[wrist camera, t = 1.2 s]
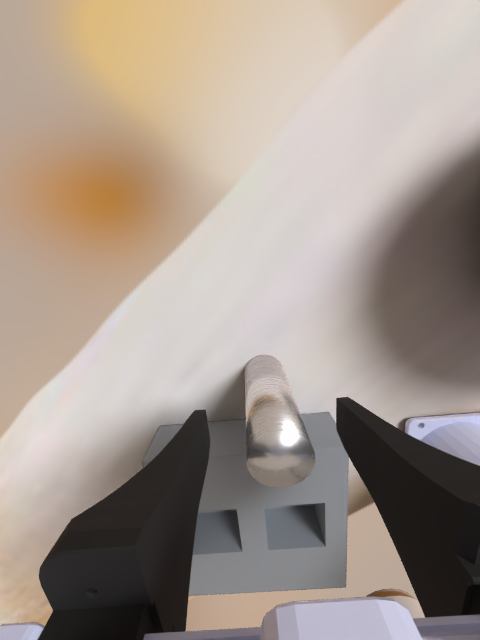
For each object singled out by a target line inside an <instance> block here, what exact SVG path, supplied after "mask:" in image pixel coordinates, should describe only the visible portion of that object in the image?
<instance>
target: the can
mask: <svg viewBox="0 0 480 640" xmlns="http://www.w3.org/2000/svg"><path fill="white" fill-rule="evenodd" d="M373 596H375V597H384V598H391V599H393V600H394V601H396V602H398V603H399V604H401V605H402V606H404V607H405V608H407V609H408V610H409V613H410V615H411V617H412V618H425V616H424V614H423V611H422V609H421V606H420V604H419V601H418V600H417V599H415V598H413V597H412V596H410V595H409V594H408V593H407V592H404V591H402V590H397V589H383V590H379V591H375V592H373V593H371V594H369V595H367V596H366V597H373Z"/></svg>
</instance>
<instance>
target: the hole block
mask: <svg viewBox="0 0 480 640" xmlns="http://www.w3.org/2000/svg"><path fill="white" fill-rule="evenodd" d="M300 415H301V417H302V420H303V423H304V425H305V428H306V431H307V433H308V436H309V439H310V441H311V444H312V447H313V449H314V452H315V458H316V459H315V466H314V468H313V470H312V472H311V473H310V475H309V476H308V477H307V478H306V479H304V480H303V481H302V482H300V483H298V484H296V485H293V486H290V487H284V488H276V487H270V486H266V485H264V484H262V483H260V482H258V481H257V480H256V479H255V478H254V477H253V476H252V475H251V474H250V472H249V470H248V468H247V463H246V419H239V420H227V421H215V422H208V428H209V434H210V452H209V461H208V466H207V470H206V475H205V480H204V485H203V489H202V494H201V499H200V504H199V509H198V515H197V523H196V531H195V539H194V548H193V557H192V566H191V575H190V585H189V596H198V595H216V594H234V593H249V592H250V593H252V592H270V591H288V590H306V589H324V588H342V587H346V563H347V562H346V561H347V514H348V464H349V456H348V454H347V452H346V451H345V449H344V447H343V444H342V442H341V440H340V437H339V435H338V433H337V430H336V423H335V421H334V419H333V418H332V416H331V414H330V412H323V413H311V414H300ZM183 425H184V424H178V425H166V426H160V427H159V429H158V431H157V433H156V435H155V437H154V439H153V441H152V443H151V445H150V447H149V449H148V451H147V453H146V455H145V457H144V459H143V461H142V464H143V468H144V467H145V466H146V465H147V464H149V463H150V462H151V461H152V460H153V459H154V458H155V457H156V456H157V455H158V454H159V453H160V452H161V451H162V450H163V448H164V447H165V446H166V445H167V444H168V443H169V442H170V441H171V440H172V438H173V437H174V436H175V435H176V433H177V432H178V431H179V430H180V429H181V427H182V426H183Z"/></svg>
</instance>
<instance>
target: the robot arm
mask: <svg viewBox="0 0 480 640" xmlns="http://www.w3.org/2000/svg"><path fill="white" fill-rule="evenodd" d="M336 430H337V433H338V435H339V437H340V440H341V442H342V444H343V447H344V449H345V451H346V452H347V454H348V456H349V458H350V459H351V461H352V463H353V465H354V466H355V468H356V470H357V472H358V473H359V475H360V477H361V478H362V480H363V482H364V484H365V485H366V487H367V489H368V491H369V492H370V494H371V496H372V498H373V500H374V502H375V504H376V506H377V508H378V510H379V512H380V514H381V516H382V518H383V521H384V523H385V525H386V527H387V529H388V532H389V533H390V536H391V538H392V540H393V543H394V545H395V547H396V549H397V551H398V554H399V556H400V558H401V561H402V563H403V565H404V568H405V570H406V572H407V575H408V577H409V579H410V582H411V584H412V587H413V589H414V591H415V594H416V596H417V598H418V601H419V604H420V606H421V609H422V611H423V614H424V616H425V618H412V617H411V615H410V613H409V610H408V609H407V608H405V607H404V606H402V605H401V604H399V603H398V602H396V601H394V600H393V599H391V598H384V597H375V596H373V597H356V598H340V599H326V600H325V599H324V600H308V601H293V602H289V603H284V604H281V605H277V606H276V607H275V608H273V609H272V610H270V611H269V612H268V613H266V615H265V616H264V618H263V622H262V625H261V627H255V628H238V629H220V630H205V631H204V630H203V631H186V632H185V629H186V617H187V604H188V596H189V585H190V575H191V566H192V557H193V548H194V539H195V531H196V523H197V515H198V509H199V504H200V499H201V494H202V489H203V485H204V480H205V475H206V470H207V466H208V461H209V452H210V434H209V428H208V422H207V416H206V410H195V411H194V412H193V413H192V414H191V416H190V417H189V418H188V420H187V421H186V422H185V423H184V425H183V426H182V427H181V429H180V430H179V431H178V432H177V433H176V435H175V436H174V437H173V438H172V440H171V441H170V442H169V443H168V444H167V445H166V446H165V447H164V448H163V450H162V451H161V452H160V453H159V454H158V455H157V456H156V457H155V458H154V459H153V460H152V461H151V462H150V463H149V464H147V465H146V466H145V467H144V468H143V469H142V470H141V471H140V472H138V473H137V474H136V475H135V476H133V477H132V478H131V479H130V480H129V481H127V482H126V483H125V484H124V485H122V486H121V487H120V488H118V489H117V490H116V491H114V492H113V493H111V494H110V495H109V496H107V497H106V498H104V499H103V500H101V501H100V502H98V503H97V504H95V505H94V506H92V507H91V508H89V509H87V510H86V511H84V512H83V513H81V514H79V515H78V516H76V517H74V518H73V519H72V520H71V521H70V522H69V524H68V525H67V527H66V528H65V530H64V531H63V532H62V534H61V536H60V537H59V539H58V540H57V542H56V543H55V545H54V546H53V548H52V549H51V551H50V553H49V554H48V556H47V557H46V559H45V560H44V562H43V564H42V565H41V567H40V572H39V579H40V583H41V586H42V588H43V590H44V592H45V594H46V596H47V598H48V600H49V603H50V605H51V607H52V609H53V612H52V614H51V616H50V618H49V620H48V622H47V624H46V626H45V627H44V626H43V625H42V624H39V623H34V622H30V623H13V624H2V625H0V640H480V413H468V414H455V415H443V416H431V417H418V418H410V419H408V420H407V421H406V423H405V432H403V431H401V430H400V429H398V428H396V427H394V426H393V425H391V424H389V423H388V422H386V421H384V420H383V419H381V418H380V417H378V416H376V415H375V414H373V413H372V412H370V411H369V410H367V409H366V408H364V407H363V406H361V405H360V404H358V403H357V402H355V401H353V400H352V399H350V398H349V397H343V398H337V408H336Z"/></svg>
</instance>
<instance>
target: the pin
mask: <svg viewBox="0 0 480 640" xmlns="http://www.w3.org/2000/svg"><path fill="white" fill-rule="evenodd" d="M245 417H246V463H247V468H248V470H249V472H250V474H251V475H252V476H253V477H254V478H255V479H256V480H257V481H258V482H260V483H262V484H264V485H266V486H270V487H276V488H284V487H290V486H293V485H296V484H298V483H300V482H302V481H303V480H304V479H306V478H307V477H308V476H309V475H310V473H311V472H312V470H313V468H314V466H315V459H316V458H315V452H314V449H313V447H312V444H311V441H310V439H309V436H308V433H307V431H306V428H305V425H304V423H303V420H302V417H301V415H300V412H299V409H298V407H297V404H296V402H295V399H294V396H293V394H292V391H291V388H290V386H289V383H288V380H287V378H286V375H285V372H284V370H283V367H282V365H281V363H280V362H279V361H278V360H277V359H276V358H274V357H272V356H269V355H259V356H256V357H254V358H253V359H251V360H250V361H249V362H248V364H247V365H246V368H245Z"/></svg>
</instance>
